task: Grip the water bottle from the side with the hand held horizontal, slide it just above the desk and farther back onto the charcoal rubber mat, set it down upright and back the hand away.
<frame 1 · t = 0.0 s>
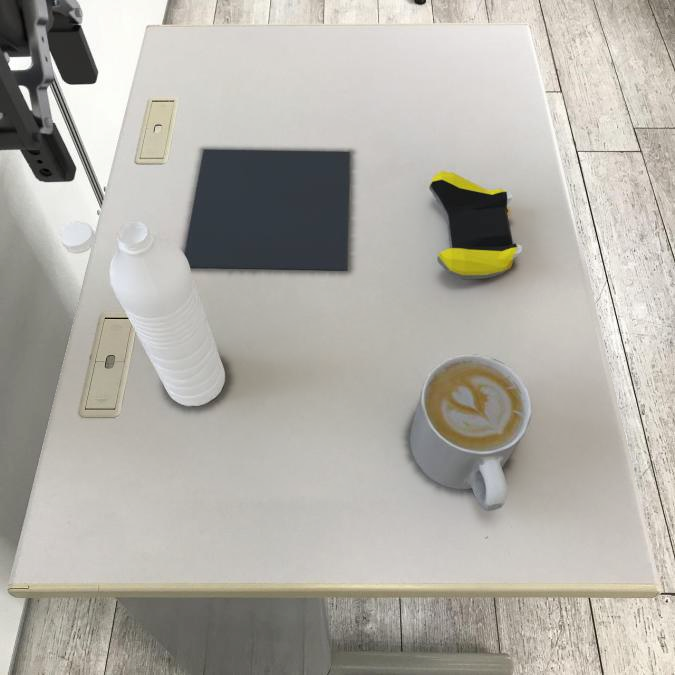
hand: (71, 127, 39), 35 cm above the table, tool pointing down, fingers open, 8 cm apart
gaming controller: (469, 242, 80), on the table
water bottle: (186, 381, 70), on the table
mat: (270, 206, 82), on the table
coffee mug: (459, 458, 65), on the table
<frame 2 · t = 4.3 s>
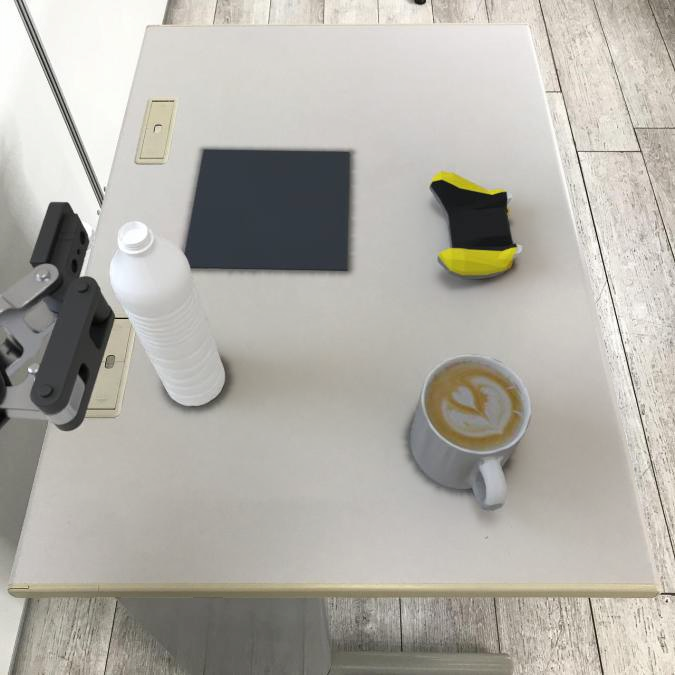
nothing on the table moved.
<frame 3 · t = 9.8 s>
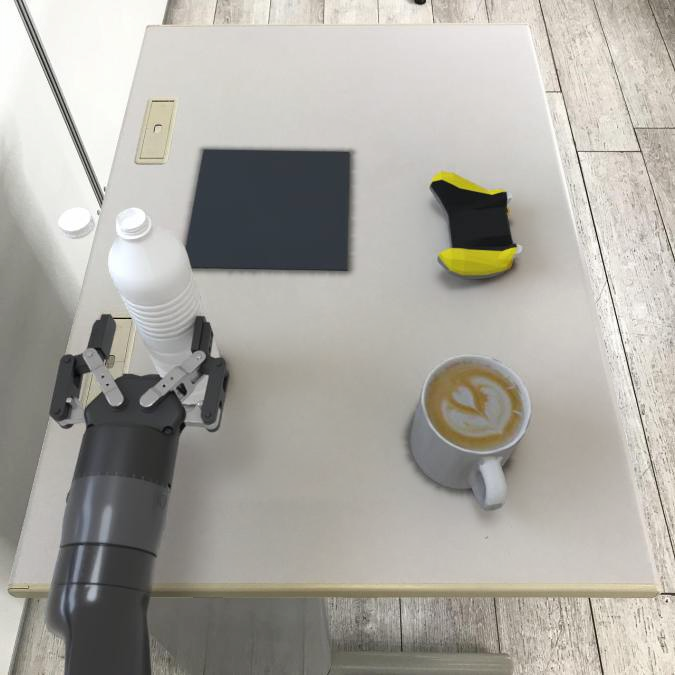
hand: (156, 319, 58), 13 cm above the table, tool horizontal, fingers open, 8 cm apart
water bottle: (185, 380, 70), on the table, touching gripper
everything else where it was.
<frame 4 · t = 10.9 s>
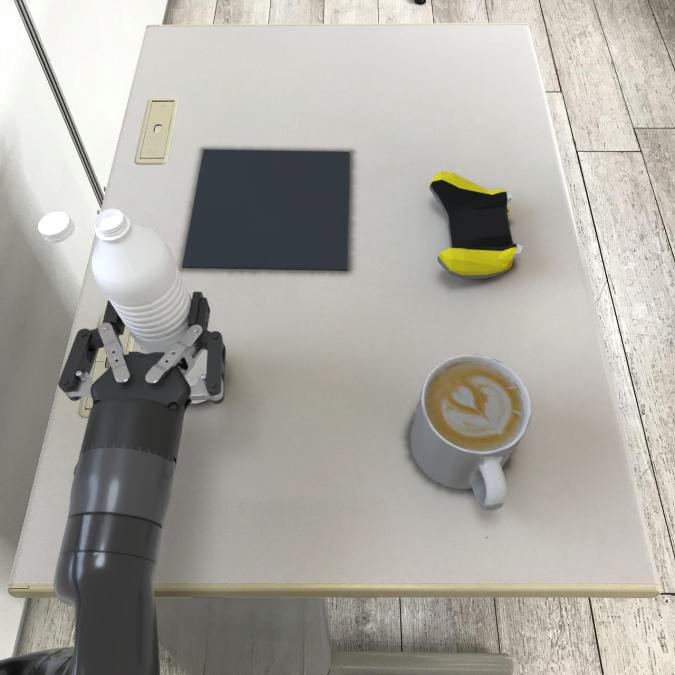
hand: (161, 296, 59), 13 cm above the table, tool horizontal, fingers closed on water bottle, 6 cm apart
water bottle: (186, 380, 70), on the table, touching gripper
everything else where it was.
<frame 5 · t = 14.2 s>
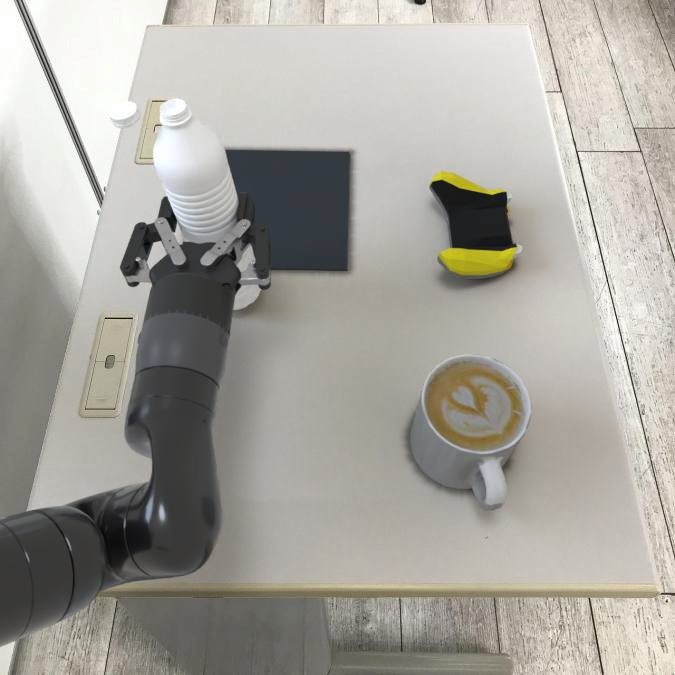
hand: (210, 197, 64), 14 cm above the table, tool horizontal, fingers closed on water bottle, 6 cm apart
water bottle: (225, 291, 74), point 1 cm above the table, touching gripper
everything else where it was.
when the fingers open (13 cm above the table, at t = 18.0 s): water bottle stays where it is, resting on mat.
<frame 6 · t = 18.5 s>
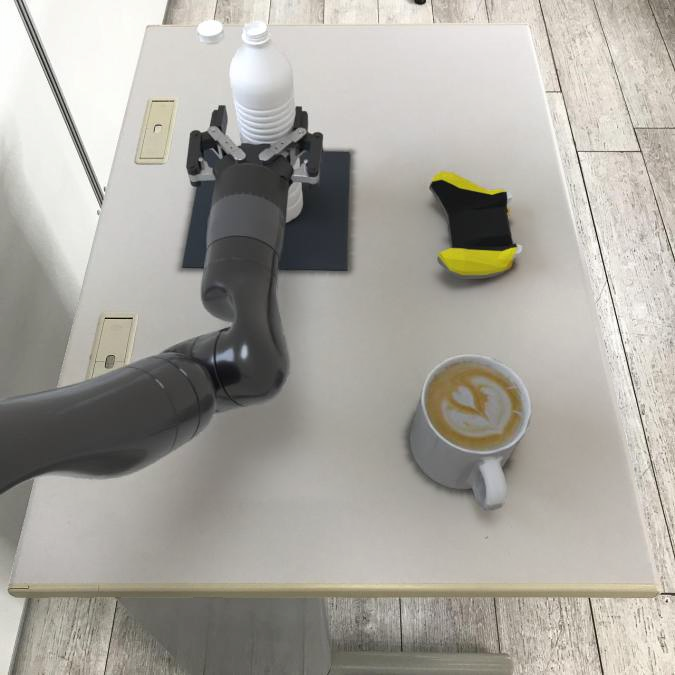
hand: (261, 111, 72), 14 cm above the table, tool horizontal, fingers open, 8 cm apart
water bottle: (269, 207, 82), resting on mat, touching gripper
everything else where it was.
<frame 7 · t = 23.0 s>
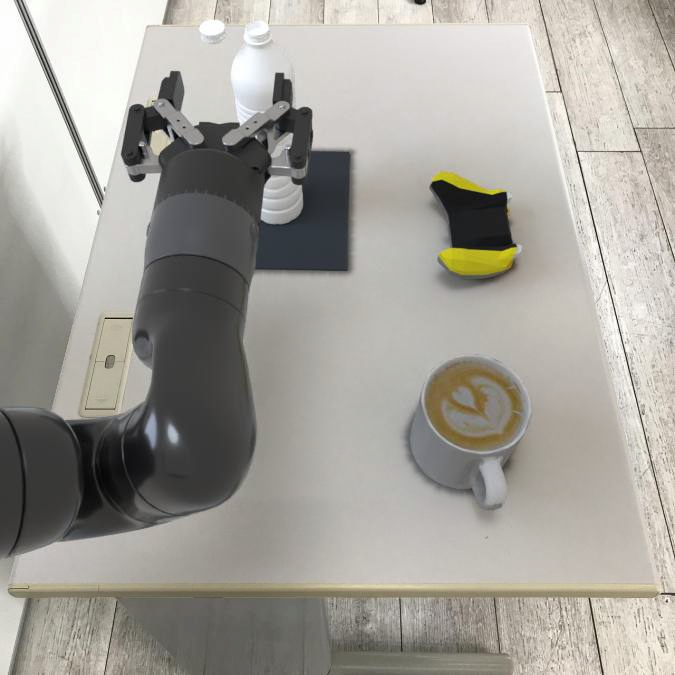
hand: (229, 80, 53), 28 cm above the table, tool horizontal, fingers open, 8 cm apart
water bottle: (269, 207, 82), resting on mat
everything else where it was.
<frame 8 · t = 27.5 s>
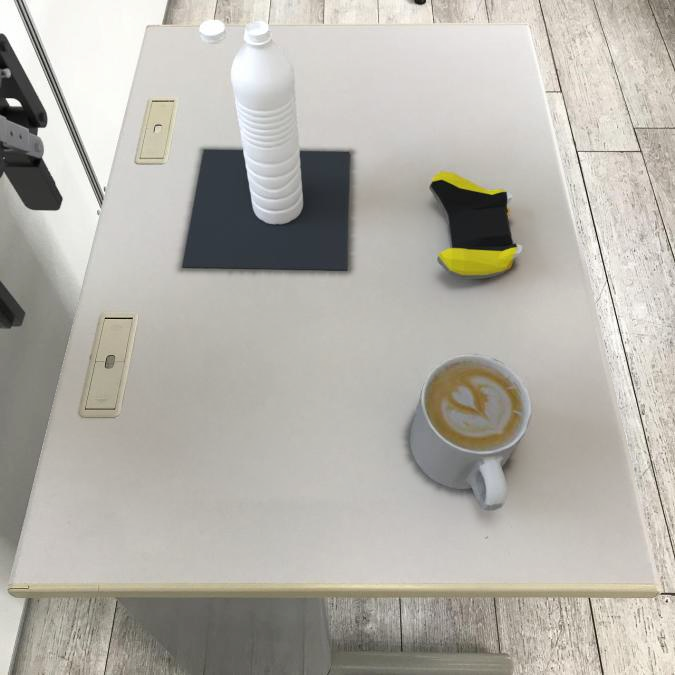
hand: (28, 260, 38), 32 cm above the table, tool pointing down, fingers open, 8 cm apart
nothing on the table moved.
at the end: water bottle inside the target area on the mat (0.2 cm from its centre), point 0.0 cm above the mat's base; water bottle tilted 0°; the gripper is holding nothing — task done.
